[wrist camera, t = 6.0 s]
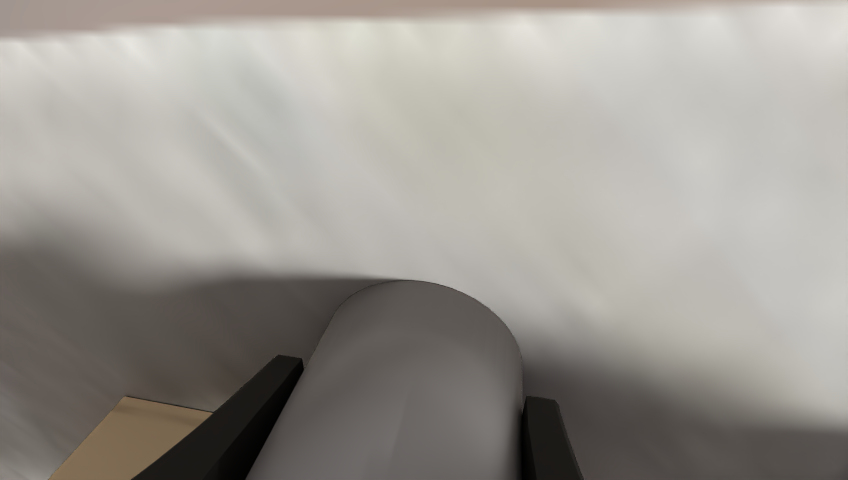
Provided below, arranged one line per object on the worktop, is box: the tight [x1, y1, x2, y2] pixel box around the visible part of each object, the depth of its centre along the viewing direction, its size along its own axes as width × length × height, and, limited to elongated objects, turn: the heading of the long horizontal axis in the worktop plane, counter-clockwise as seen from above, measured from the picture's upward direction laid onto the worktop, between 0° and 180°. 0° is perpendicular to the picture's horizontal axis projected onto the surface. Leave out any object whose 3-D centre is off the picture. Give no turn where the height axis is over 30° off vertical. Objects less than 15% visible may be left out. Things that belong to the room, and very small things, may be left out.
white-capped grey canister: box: [245, 281, 522, 480], centre depth 10 cm, size 5×5×5 cm
